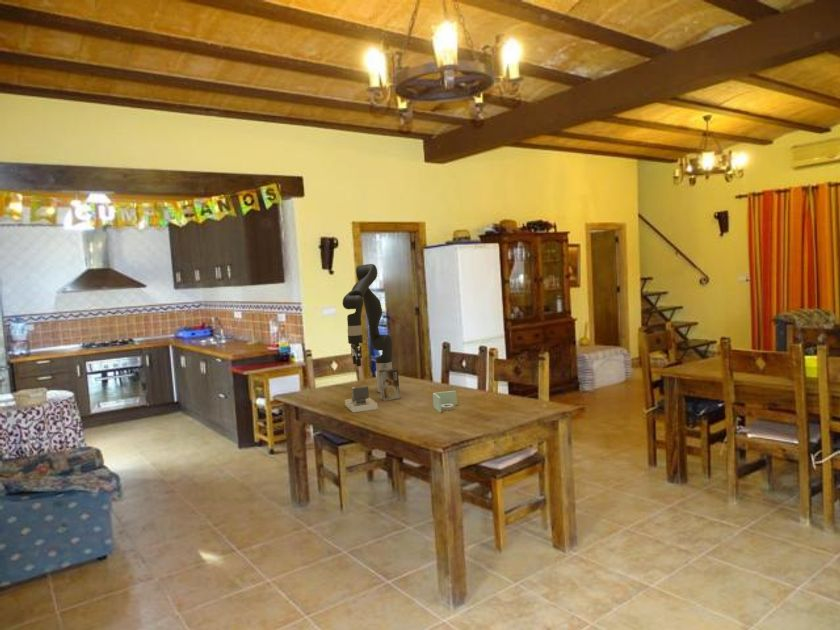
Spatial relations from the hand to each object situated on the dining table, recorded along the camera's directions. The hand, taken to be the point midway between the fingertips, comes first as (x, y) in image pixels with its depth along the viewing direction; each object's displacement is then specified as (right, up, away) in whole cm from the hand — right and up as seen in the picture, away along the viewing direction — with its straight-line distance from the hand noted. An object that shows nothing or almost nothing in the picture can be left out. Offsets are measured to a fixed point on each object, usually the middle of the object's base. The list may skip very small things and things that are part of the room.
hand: (357, 365), depth 311 cm
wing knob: (+2, -19, +1) cm, 19 cm away
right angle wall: (+47, -21, -11) cm, 52 cm away
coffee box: (+16, -20, +18) cm, 32 cm away
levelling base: (+2, -22, +3) cm, 22 cm away
